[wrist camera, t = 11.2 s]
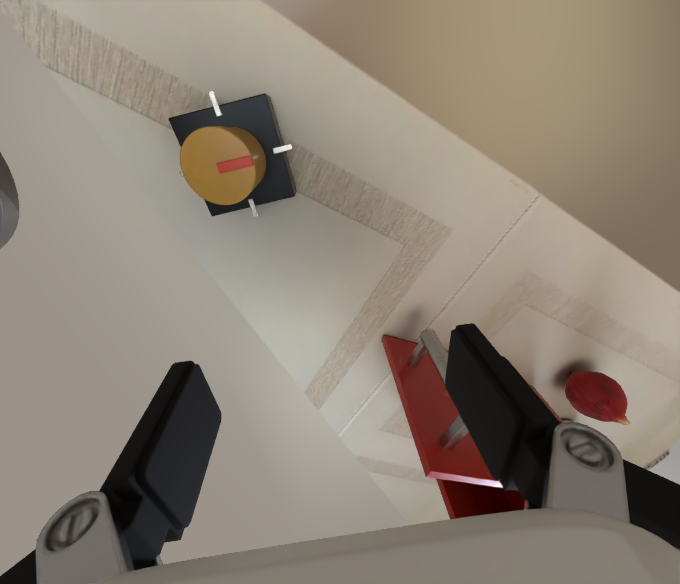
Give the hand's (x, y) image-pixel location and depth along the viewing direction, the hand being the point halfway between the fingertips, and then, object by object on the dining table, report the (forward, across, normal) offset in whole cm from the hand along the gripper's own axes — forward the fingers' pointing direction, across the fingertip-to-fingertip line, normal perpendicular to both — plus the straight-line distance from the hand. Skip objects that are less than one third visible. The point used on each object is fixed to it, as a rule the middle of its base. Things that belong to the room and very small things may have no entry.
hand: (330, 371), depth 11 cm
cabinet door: (+18, -12, +15) cm, 27 cm away
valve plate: (+19, +5, -6) cm, 21 cm away
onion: (+19, -33, +26) cm, 45 cm away
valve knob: (+16, +5, -6) cm, 18 cm away
